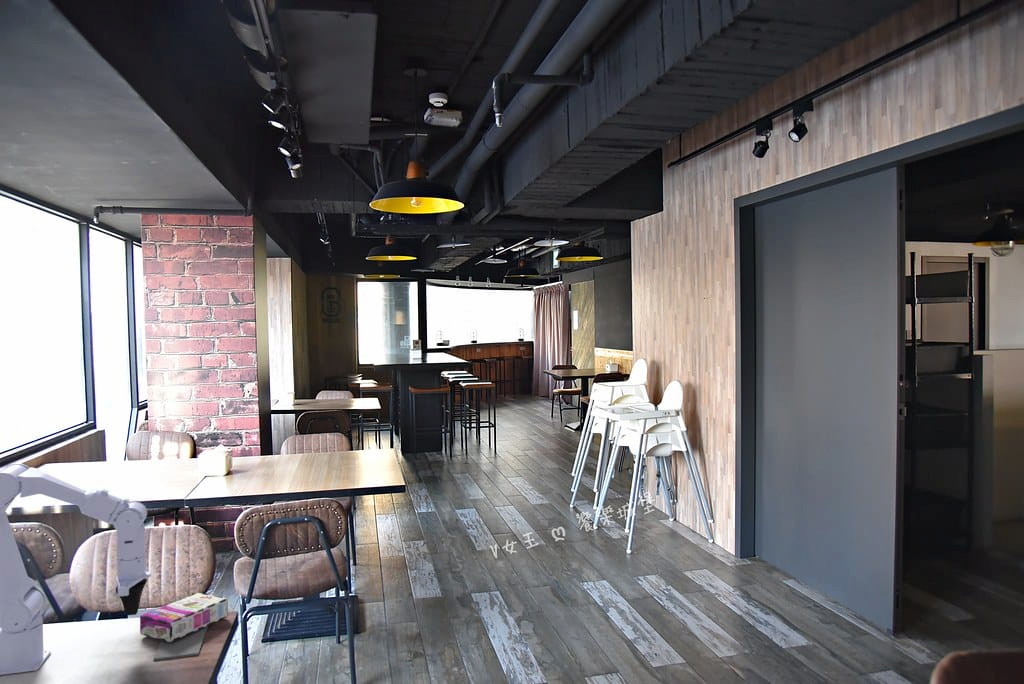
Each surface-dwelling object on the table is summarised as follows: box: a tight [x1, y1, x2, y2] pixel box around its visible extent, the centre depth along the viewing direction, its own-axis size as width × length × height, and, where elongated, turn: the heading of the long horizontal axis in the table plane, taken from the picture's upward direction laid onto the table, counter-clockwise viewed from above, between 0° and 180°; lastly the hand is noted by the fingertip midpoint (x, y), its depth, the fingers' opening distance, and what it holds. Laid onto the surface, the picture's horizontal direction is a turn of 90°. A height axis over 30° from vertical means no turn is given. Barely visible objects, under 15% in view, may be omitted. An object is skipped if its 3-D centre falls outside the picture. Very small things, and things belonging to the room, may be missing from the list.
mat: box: [153, 625, 209, 661], centre depth 154 cm, size 9×14×1 cm, turn 17°
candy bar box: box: [139, 592, 229, 642], centre depth 161 cm, size 11×5×16 cm
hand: (131, 613), depth 151 cm, fingers closed
